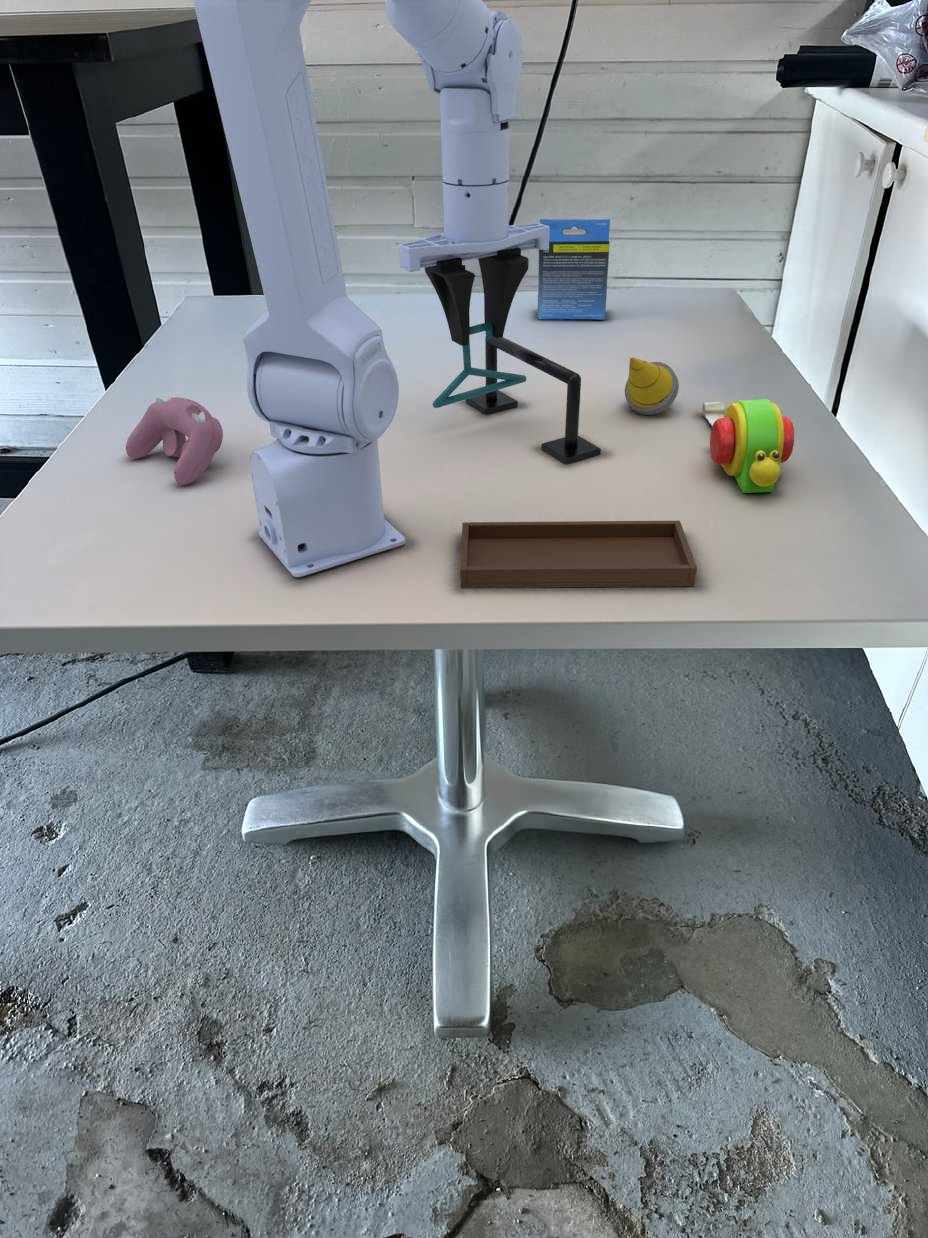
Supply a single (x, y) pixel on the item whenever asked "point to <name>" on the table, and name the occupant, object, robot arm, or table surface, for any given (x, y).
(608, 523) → the tray
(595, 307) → the tape cartridge
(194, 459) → the video game controller
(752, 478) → the toy measuring tape
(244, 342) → the robot arm
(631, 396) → the yellow tiered cone
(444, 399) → the hanger
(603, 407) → the table surface
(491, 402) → the rail
